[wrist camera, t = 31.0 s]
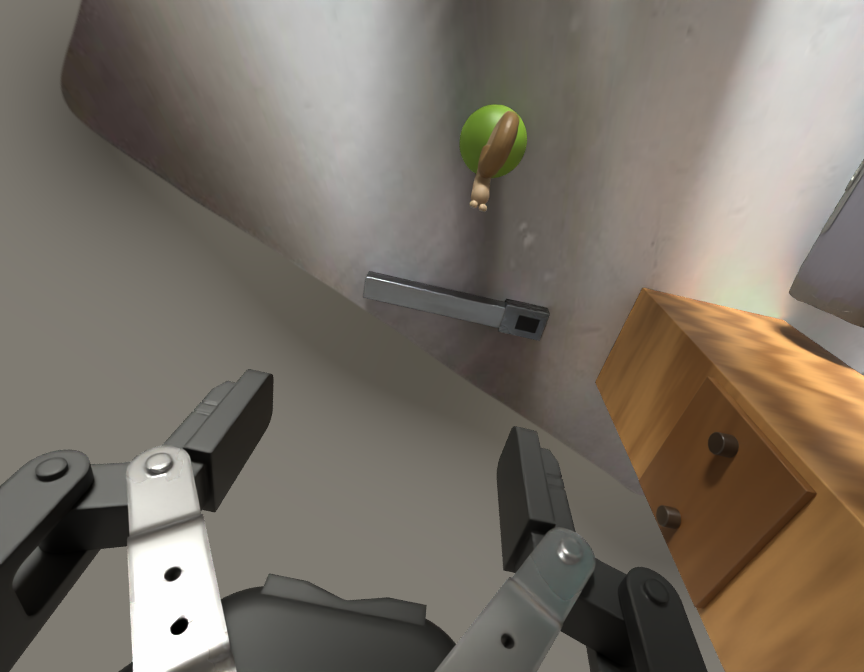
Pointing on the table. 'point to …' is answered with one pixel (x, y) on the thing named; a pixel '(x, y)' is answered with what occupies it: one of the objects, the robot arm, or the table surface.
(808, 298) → the bluetooth speaker
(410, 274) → the table surface
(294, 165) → the table surface
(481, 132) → the snail figurine
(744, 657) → the zigzag wood box
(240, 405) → the robot arm
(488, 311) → the bottle opener
